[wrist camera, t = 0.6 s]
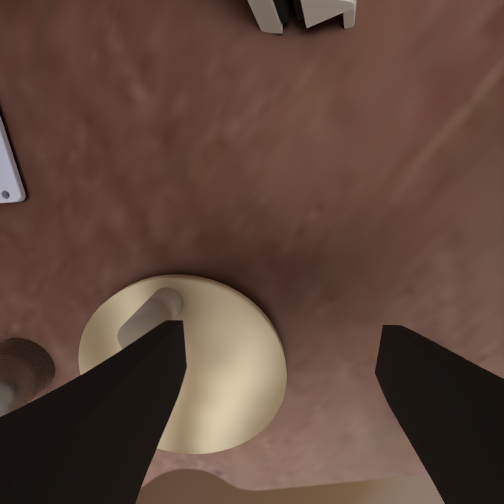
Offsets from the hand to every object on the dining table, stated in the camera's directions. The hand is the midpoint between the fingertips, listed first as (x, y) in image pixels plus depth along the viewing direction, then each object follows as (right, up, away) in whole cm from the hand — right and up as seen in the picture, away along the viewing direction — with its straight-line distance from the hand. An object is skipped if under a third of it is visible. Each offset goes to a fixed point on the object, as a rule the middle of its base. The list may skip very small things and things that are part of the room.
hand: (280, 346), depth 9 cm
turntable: (-6, -5, +10) cm, 13 cm away
